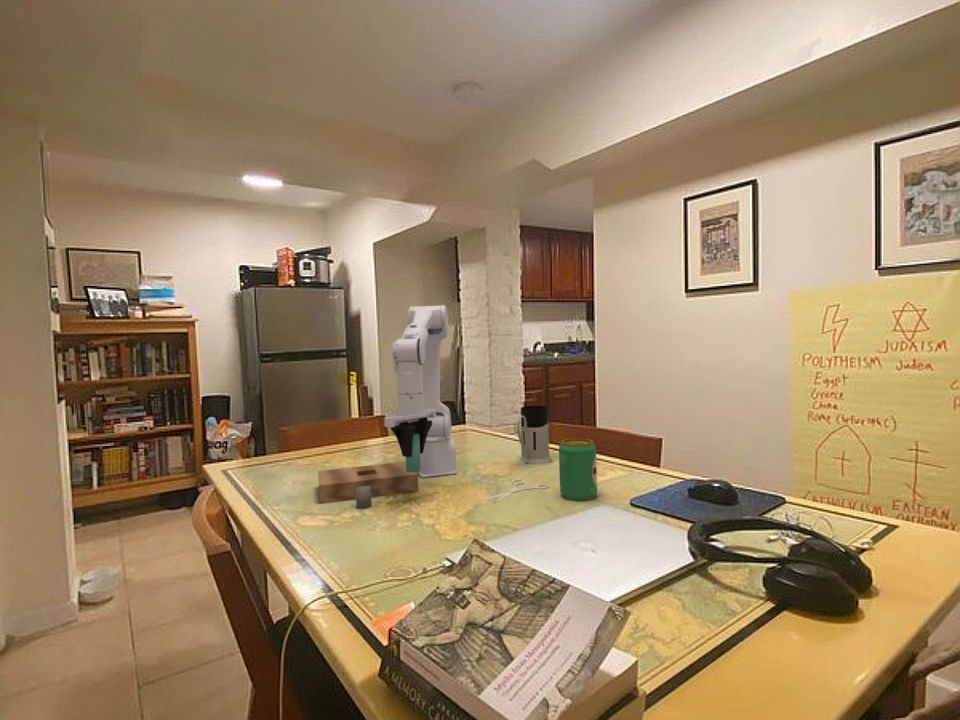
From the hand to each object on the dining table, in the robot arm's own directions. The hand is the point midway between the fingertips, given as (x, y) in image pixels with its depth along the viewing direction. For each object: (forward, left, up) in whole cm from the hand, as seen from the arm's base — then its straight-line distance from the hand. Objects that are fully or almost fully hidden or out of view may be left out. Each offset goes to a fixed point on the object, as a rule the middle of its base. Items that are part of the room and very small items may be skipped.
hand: (412, 454), depth 116 cm
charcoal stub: (+11, 0, -10) cm, 15 cm away
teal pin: (0, 0, -3) cm, 3 cm away
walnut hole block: (+9, -13, -10) cm, 19 cm away
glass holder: (-37, -21, -10) cm, 44 cm away
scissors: (-22, +3, -11) cm, 25 cm away
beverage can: (-34, +12, -10) cm, 37 cm away
